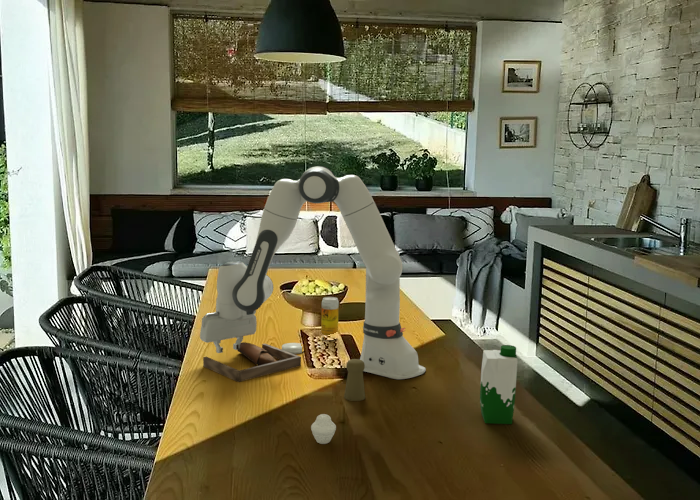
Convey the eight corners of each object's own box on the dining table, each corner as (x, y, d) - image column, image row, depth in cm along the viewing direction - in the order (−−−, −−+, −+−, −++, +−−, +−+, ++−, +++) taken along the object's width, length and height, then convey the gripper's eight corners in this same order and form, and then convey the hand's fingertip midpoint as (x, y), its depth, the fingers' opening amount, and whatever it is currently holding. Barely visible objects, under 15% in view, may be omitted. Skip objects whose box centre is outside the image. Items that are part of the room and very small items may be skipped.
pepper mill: (350, 402, 211) (351, 364, 209) (340, 395, 216) (341, 358, 214) (369, 399, 213) (370, 361, 212) (359, 392, 219) (360, 355, 217)
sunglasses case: (281, 364, 241) (272, 347, 238) (263, 377, 238) (254, 360, 236) (259, 349, 256) (251, 333, 254) (242, 361, 254) (233, 345, 251)
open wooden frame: (300, 365, 241) (300, 356, 241) (238, 381, 225) (238, 372, 224) (264, 352, 255) (265, 343, 254) (203, 366, 238) (203, 357, 238)
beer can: (318, 339, 271) (319, 299, 269) (325, 335, 277) (326, 295, 274) (333, 341, 269) (334, 301, 267) (340, 337, 275) (341, 297, 272)
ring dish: (309, 350, 258) (310, 346, 257) (291, 355, 252) (291, 350, 252) (295, 345, 263) (295, 341, 263) (277, 349, 258) (277, 345, 258)
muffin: (315, 448, 180) (316, 420, 179) (307, 438, 186) (307, 411, 185) (339, 444, 183) (340, 416, 181) (330, 434, 188) (330, 408, 187)
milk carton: (516, 425, 197) (520, 352, 194) (481, 424, 197) (485, 351, 194) (510, 413, 205) (514, 342, 202) (476, 412, 206) (480, 341, 202)
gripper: (207, 316, 236) (206, 358, 238) (260, 308, 250) (258, 348, 252) (196, 312, 240) (195, 353, 242) (248, 304, 254) (247, 343, 257)
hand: (227, 350), depth 247 cm, fingers open, 5 cm apart
